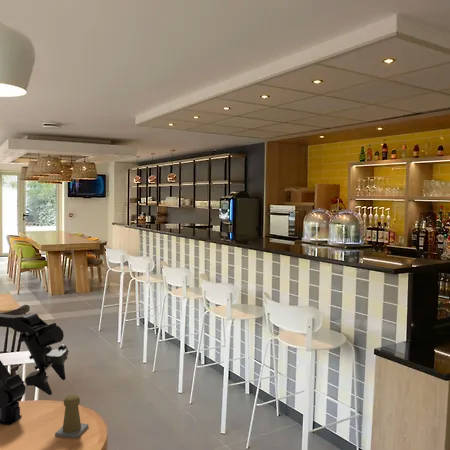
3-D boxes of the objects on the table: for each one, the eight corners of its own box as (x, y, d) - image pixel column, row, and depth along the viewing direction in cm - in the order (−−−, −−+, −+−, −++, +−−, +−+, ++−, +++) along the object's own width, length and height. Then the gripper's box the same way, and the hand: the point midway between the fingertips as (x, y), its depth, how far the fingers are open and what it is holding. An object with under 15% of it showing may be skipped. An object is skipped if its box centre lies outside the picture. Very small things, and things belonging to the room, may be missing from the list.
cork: (73, 433, 153) (73, 401, 152) (58, 430, 155) (58, 398, 154) (84, 425, 159) (84, 394, 158) (70, 422, 161) (70, 391, 160)
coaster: (55, 436, 153) (55, 433, 153) (67, 424, 161) (67, 421, 161) (77, 438, 152) (77, 435, 152) (88, 426, 160) (88, 424, 160)
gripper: (42, 356, 149) (63, 396, 151) (70, 330, 167) (88, 367, 169) (14, 365, 151) (35, 405, 154) (45, 338, 169) (63, 374, 172)
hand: (57, 387), depth 162 cm, fingers open, 9 cm apart
